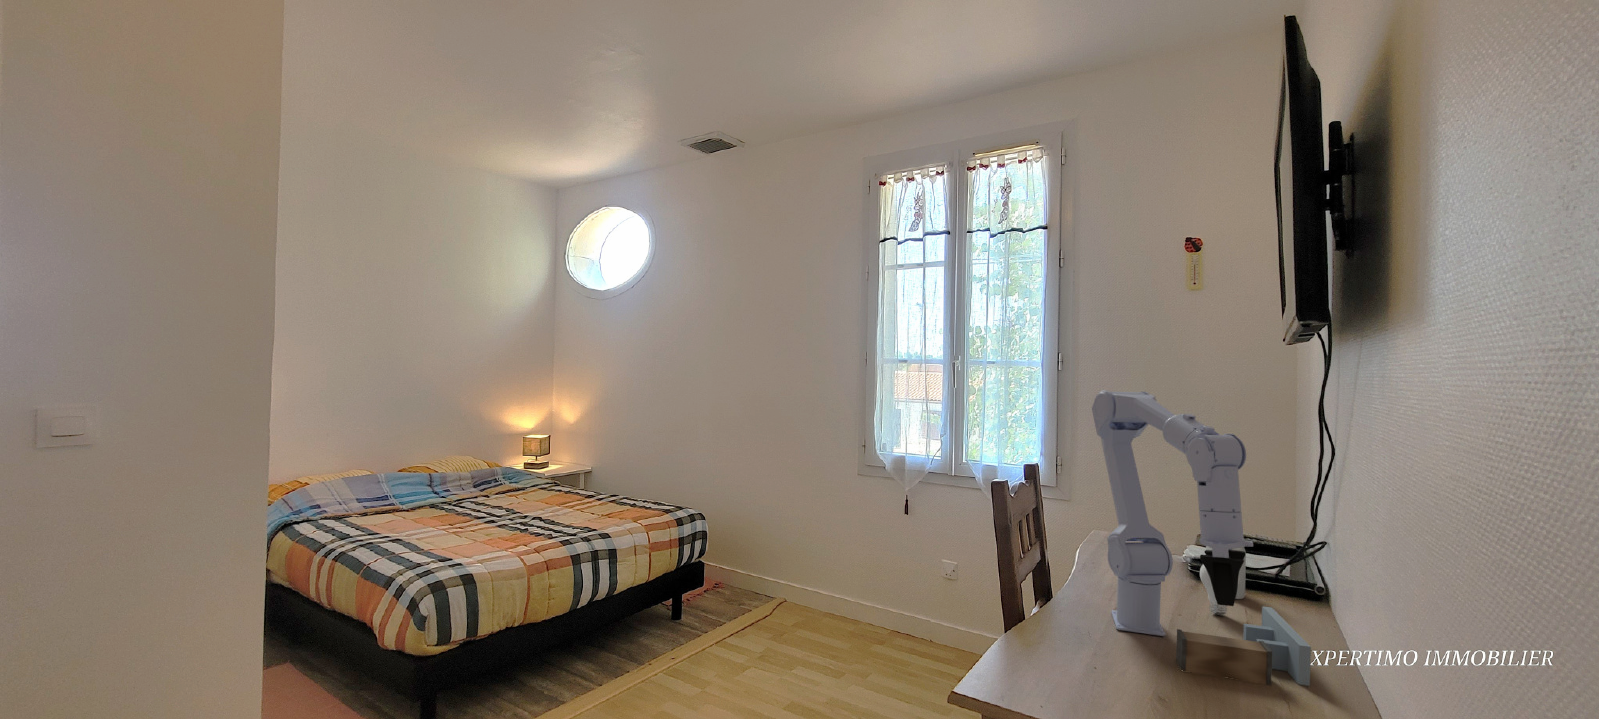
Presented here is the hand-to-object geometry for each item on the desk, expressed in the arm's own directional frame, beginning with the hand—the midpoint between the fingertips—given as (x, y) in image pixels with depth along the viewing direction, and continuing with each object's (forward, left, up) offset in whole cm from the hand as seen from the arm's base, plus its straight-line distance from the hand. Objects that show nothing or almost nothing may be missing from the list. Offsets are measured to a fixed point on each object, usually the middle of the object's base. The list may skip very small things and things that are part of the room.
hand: (1226, 600), depth 105 cm
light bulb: (-32, +6, -13) cm, 35 cm away
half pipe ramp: (-3, 0, -12) cm, 13 cm away
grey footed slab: (-12, +9, -12) cm, 20 cm away
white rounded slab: (-49, +11, -13) cm, 52 cm away
